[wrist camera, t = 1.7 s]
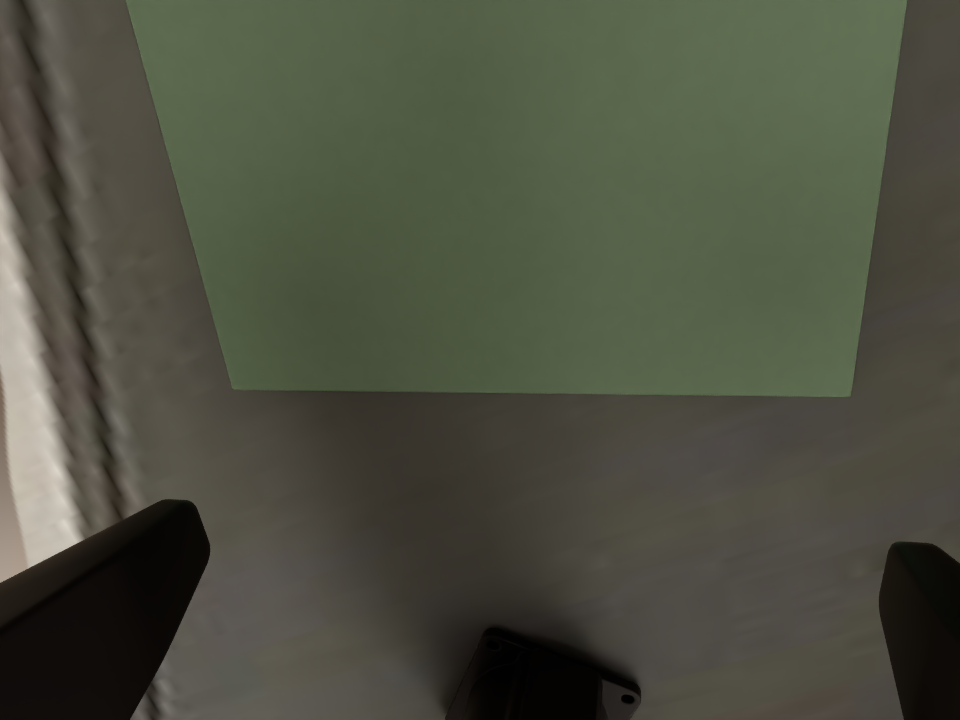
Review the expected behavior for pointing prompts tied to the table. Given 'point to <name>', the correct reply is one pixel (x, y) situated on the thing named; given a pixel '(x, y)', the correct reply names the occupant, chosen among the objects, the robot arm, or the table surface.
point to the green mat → (529, 189)
